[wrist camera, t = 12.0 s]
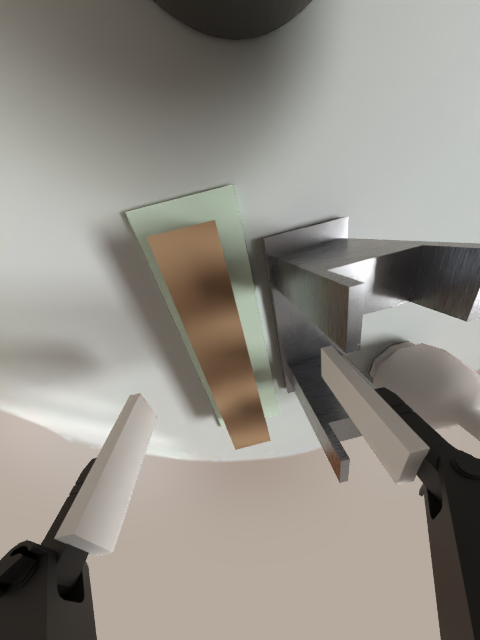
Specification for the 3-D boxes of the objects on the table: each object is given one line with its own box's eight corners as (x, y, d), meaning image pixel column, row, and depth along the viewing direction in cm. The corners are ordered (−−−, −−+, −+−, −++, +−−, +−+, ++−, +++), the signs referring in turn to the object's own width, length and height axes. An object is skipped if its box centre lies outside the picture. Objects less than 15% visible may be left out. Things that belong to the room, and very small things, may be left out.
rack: (261, 238, 15) (336, 246, 6) (342, 217, 15) (547, 191, 6) (285, 388, 23) (333, 493, 14) (338, 374, 23) (421, 469, 14)
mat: (128, 212, 13) (125, 211, 13) (233, 185, 13) (233, 184, 13) (222, 425, 25) (222, 429, 24) (278, 410, 25) (279, 414, 24)
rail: (164, 236, 14) (146, 237, 10) (215, 223, 14) (215, 219, 10) (232, 416, 24) (235, 449, 20) (262, 409, 24) (270, 440, 20)
